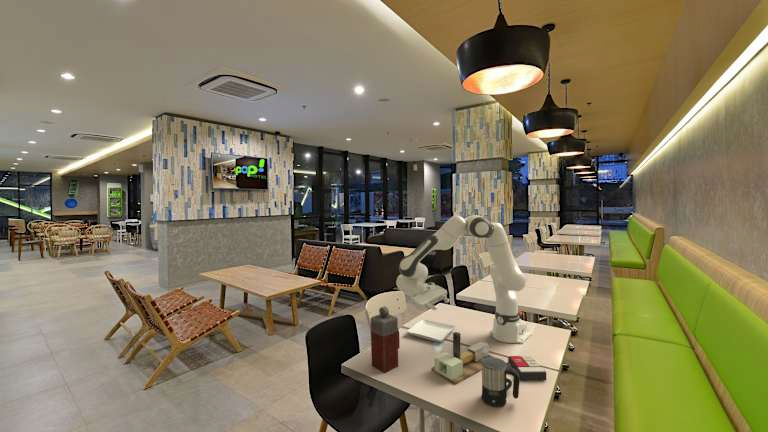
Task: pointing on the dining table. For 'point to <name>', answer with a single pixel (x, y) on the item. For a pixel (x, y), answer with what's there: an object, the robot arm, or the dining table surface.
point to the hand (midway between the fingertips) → (442, 305)
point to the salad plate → (431, 330)
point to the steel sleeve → (479, 351)
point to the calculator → (527, 368)
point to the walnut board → (465, 371)
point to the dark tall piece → (464, 356)
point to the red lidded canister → (384, 341)
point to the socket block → (448, 365)
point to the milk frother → (497, 381)
